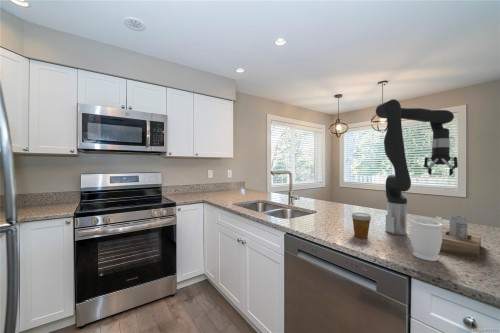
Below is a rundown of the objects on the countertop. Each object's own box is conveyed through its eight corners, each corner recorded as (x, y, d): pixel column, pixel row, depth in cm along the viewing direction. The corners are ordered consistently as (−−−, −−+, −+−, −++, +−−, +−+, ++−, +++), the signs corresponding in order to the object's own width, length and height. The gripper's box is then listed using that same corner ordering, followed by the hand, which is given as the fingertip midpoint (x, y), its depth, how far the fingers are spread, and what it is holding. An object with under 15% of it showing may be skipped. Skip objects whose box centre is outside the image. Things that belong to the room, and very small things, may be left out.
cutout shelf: (478, 260, 87) (479, 246, 87) (433, 250, 98) (434, 237, 98) (480, 245, 103) (480, 233, 103) (441, 238, 114) (442, 226, 113)
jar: (403, 252, 95) (404, 218, 95) (425, 251, 96) (425, 218, 96) (425, 263, 85) (425, 225, 84) (449, 262, 85) (449, 225, 85)
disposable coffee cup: (370, 235, 118) (370, 213, 117) (371, 240, 109) (372, 217, 109) (351, 232, 122) (351, 211, 121) (351, 237, 113) (351, 215, 113)
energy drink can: (460, 246, 103) (461, 215, 102) (470, 251, 97) (471, 218, 97) (446, 244, 104) (446, 214, 104) (454, 249, 98) (455, 217, 98)
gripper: (458, 146, 119) (458, 175, 119) (426, 147, 129) (425, 174, 130) (457, 145, 114) (456, 176, 114) (423, 147, 124) (422, 174, 125)
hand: (440, 175), depth 122 cm, fingers open, 8 cm apart
